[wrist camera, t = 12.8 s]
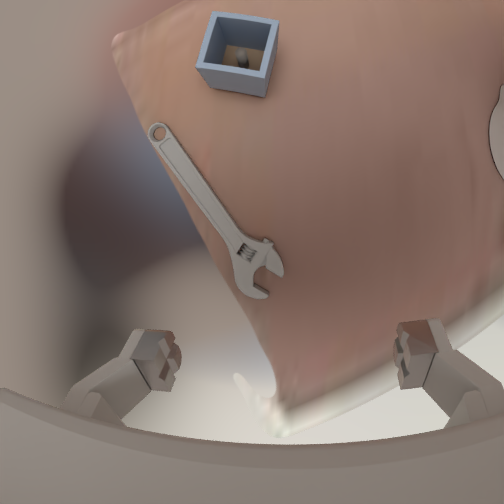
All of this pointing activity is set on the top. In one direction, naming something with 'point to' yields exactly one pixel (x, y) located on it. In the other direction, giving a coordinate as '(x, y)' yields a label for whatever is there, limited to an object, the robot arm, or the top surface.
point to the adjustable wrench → (220, 217)
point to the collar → (241, 35)
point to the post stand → (243, 57)
